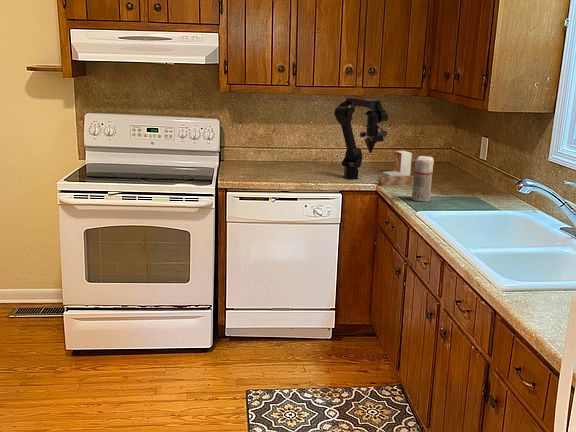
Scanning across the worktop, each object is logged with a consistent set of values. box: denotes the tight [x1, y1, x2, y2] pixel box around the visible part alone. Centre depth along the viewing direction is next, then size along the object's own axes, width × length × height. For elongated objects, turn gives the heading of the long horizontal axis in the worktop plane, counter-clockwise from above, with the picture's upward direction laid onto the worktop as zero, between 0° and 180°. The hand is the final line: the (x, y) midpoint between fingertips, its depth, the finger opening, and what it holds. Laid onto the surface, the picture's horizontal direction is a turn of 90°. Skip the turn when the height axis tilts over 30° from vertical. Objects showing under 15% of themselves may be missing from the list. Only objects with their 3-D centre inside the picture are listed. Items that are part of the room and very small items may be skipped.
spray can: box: [411, 155, 435, 203], centre depth 280 cm, size 8×8×20 cm
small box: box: [393, 150, 413, 176], centre depth 336 cm, size 8×6×13 cm
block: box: [381, 170, 404, 177], centre depth 319 cm, size 8×8×5 cm
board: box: [378, 174, 414, 187], centre depth 314 cm, size 18×3×4 cm, turn 108°
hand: (370, 152), depth 334 cm, fingers closed
